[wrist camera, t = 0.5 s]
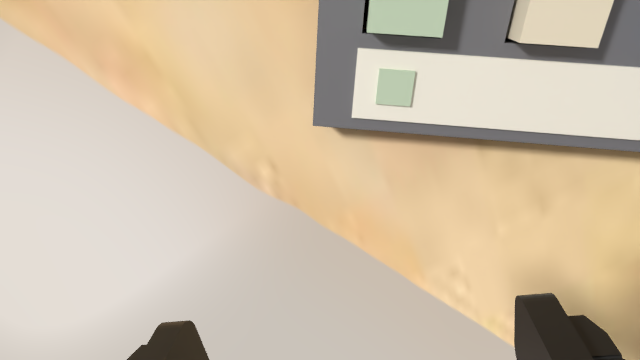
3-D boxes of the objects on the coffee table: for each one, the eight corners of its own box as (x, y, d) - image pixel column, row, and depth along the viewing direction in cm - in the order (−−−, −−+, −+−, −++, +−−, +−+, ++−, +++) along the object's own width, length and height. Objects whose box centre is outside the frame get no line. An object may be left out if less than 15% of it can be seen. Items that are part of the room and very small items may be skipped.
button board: (328, -109, 29) (324, -119, 26) (819, -85, 27) (879, -93, 24) (316, 114, 36) (312, 127, 33) (705, 145, 34) (740, 162, 31)
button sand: (521, -42, 28) (541, -44, 25) (597, -37, 28) (627, -39, 25) (503, 36, 31) (519, 42, 27) (573, 40, 30) (597, 48, 27)
